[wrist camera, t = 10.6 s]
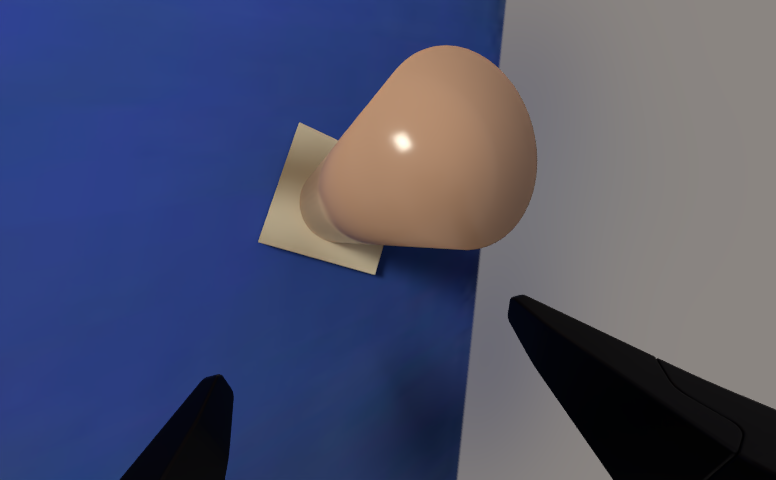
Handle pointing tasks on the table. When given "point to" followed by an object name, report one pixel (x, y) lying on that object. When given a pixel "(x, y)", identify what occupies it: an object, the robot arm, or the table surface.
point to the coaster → (285, 214)
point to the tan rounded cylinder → (429, 159)
